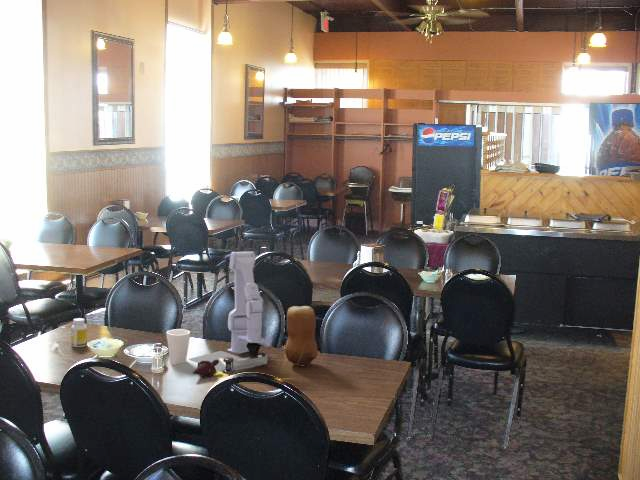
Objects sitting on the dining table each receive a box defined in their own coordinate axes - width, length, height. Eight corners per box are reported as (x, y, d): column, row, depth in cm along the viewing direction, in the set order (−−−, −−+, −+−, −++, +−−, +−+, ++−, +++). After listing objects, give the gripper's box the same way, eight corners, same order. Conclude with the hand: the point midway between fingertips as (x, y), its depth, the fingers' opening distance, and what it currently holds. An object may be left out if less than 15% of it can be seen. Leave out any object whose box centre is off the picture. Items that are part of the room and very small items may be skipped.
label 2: (236, 367, 313) (236, 366, 313) (226, 368, 312) (226, 367, 312) (231, 363, 319) (232, 361, 319) (222, 363, 317) (222, 362, 317)
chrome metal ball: (228, 370, 312) (228, 359, 311) (236, 373, 308) (237, 362, 308) (219, 372, 308) (219, 362, 307) (227, 375, 305) (227, 364, 304)
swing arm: (226, 371, 305) (226, 360, 305) (221, 368, 308) (221, 358, 308) (268, 364, 317) (268, 353, 316) (262, 361, 320) (263, 351, 319)
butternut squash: (295, 358, 331) (297, 300, 327) (323, 364, 324) (325, 305, 320) (277, 366, 319) (279, 306, 315) (305, 372, 312) (308, 312, 309)
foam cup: (184, 367, 313) (184, 336, 311) (162, 365, 315) (163, 334, 313) (192, 360, 322) (193, 330, 320) (171, 358, 324) (172, 328, 322)
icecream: (203, 368, 293) (226, 362, 306) (188, 360, 296) (212, 354, 309) (198, 385, 294) (221, 377, 307) (183, 376, 297) (207, 369, 310)
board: (221, 352, 335) (221, 350, 335) (262, 366, 318) (262, 365, 318) (187, 360, 322) (187, 359, 322) (229, 375, 305) (229, 374, 305)
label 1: (232, 363, 319) (232, 361, 319) (222, 363, 317) (222, 362, 317) (228, 358, 324) (228, 357, 324) (218, 359, 323) (218, 358, 323)
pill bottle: (90, 345, 338) (90, 319, 336) (78, 348, 332) (78, 322, 331) (80, 342, 341) (79, 316, 340) (68, 345, 336) (67, 319, 334)
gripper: (234, 328, 315) (233, 360, 317) (266, 333, 310) (265, 365, 312) (242, 324, 322) (241, 355, 324) (273, 328, 316) (272, 361, 318)
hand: (253, 360), depth 318 cm, fingers closed
